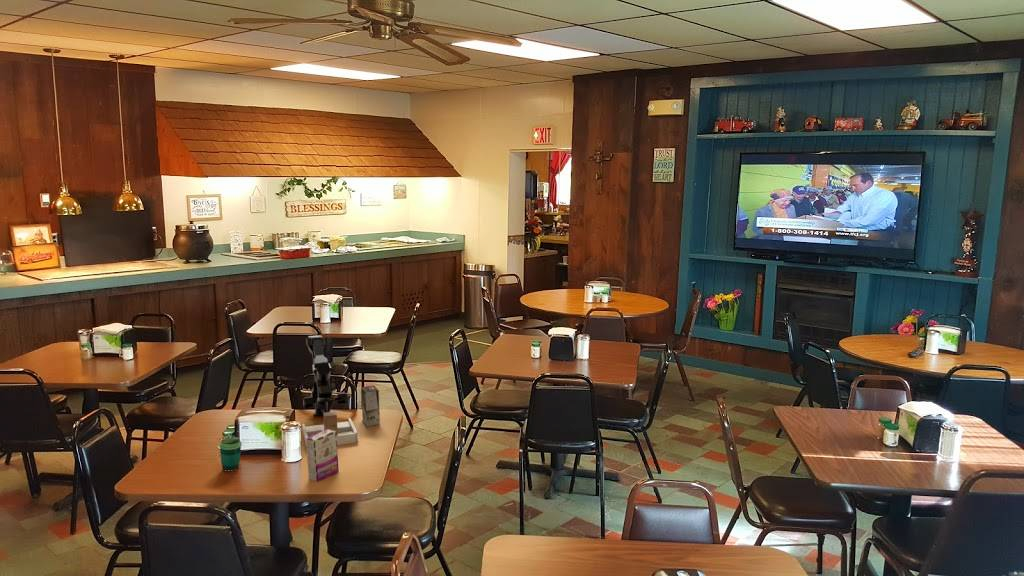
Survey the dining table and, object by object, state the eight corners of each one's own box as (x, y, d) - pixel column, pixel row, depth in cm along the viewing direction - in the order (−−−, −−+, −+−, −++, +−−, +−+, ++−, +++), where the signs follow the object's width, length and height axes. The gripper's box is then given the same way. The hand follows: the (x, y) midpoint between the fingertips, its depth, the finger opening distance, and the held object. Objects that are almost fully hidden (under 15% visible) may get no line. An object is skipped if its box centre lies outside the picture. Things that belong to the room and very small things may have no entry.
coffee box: (380, 424, 328) (379, 390, 326) (366, 426, 326) (365, 392, 323) (375, 418, 337) (374, 385, 334) (361, 420, 334) (360, 386, 331)
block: (324, 435, 308) (323, 412, 307) (336, 433, 310) (335, 411, 308) (325, 439, 304) (324, 416, 302) (337, 437, 305) (336, 414, 304)
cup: (238, 463, 285) (235, 434, 283) (247, 469, 280) (245, 439, 278) (217, 469, 280) (215, 440, 278) (226, 475, 274) (224, 445, 272)
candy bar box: (329, 469, 279) (327, 428, 276) (339, 471, 276) (337, 430, 274) (307, 479, 269) (305, 437, 267) (317, 482, 267) (314, 440, 264)
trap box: (302, 432, 319) (302, 423, 318) (350, 426, 326) (350, 417, 326) (306, 449, 299) (306, 440, 299) (357, 442, 307) (357, 433, 306)
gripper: (302, 379, 315) (305, 411, 306) (345, 375, 321) (350, 406, 313) (301, 392, 323) (305, 423, 315) (344, 387, 330) (348, 418, 321)
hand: (327, 417), depth 316 cm, fingers closed
